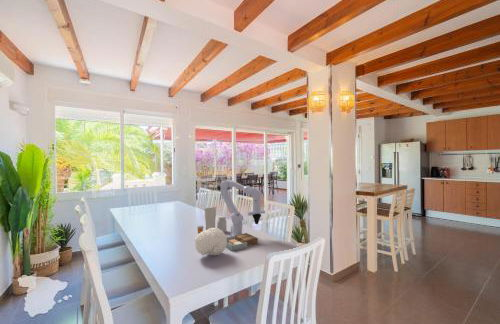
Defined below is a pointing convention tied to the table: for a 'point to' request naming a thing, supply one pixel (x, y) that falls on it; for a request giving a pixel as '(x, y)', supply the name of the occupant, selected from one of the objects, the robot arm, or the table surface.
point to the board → (246, 239)
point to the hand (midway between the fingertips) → (256, 223)
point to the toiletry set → (213, 220)
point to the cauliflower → (211, 241)
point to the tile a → (232, 241)
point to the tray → (235, 247)
